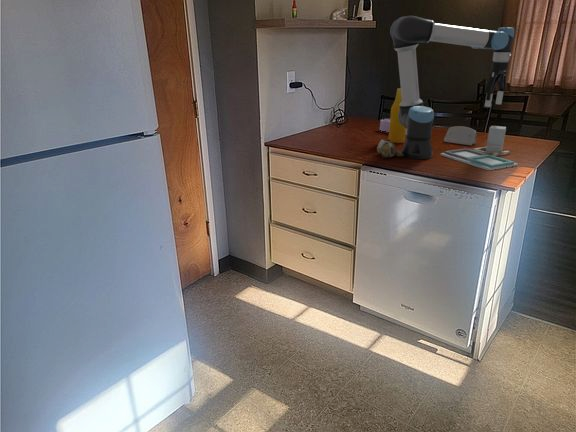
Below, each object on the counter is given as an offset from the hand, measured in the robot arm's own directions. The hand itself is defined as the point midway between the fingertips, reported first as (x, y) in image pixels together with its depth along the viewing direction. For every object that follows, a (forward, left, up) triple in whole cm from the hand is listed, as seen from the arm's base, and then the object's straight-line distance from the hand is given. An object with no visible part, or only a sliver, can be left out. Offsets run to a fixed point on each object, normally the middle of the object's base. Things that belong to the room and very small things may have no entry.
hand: (493, 105), depth 223 cm
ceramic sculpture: (-57, +9, -23) cm, 62 cm away
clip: (-16, +56, -23) cm, 63 cm away
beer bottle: (-32, +34, -23) cm, 52 cm away
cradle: (-5, -8, -22) cm, 24 cm away
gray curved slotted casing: (-1, +17, -23) cm, 29 cm away
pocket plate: (-23, -16, -22) cm, 35 cm away
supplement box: (-3, -8, -22) cm, 24 cm away
